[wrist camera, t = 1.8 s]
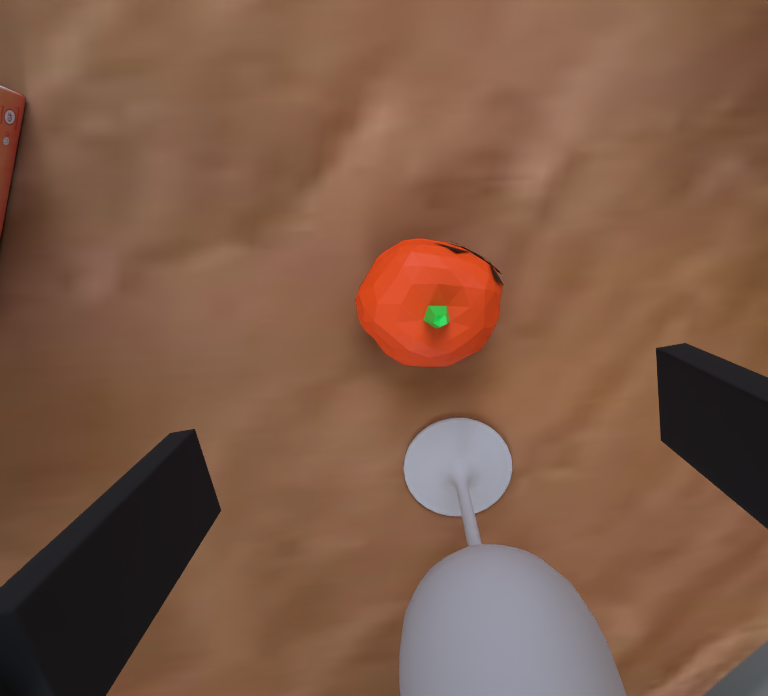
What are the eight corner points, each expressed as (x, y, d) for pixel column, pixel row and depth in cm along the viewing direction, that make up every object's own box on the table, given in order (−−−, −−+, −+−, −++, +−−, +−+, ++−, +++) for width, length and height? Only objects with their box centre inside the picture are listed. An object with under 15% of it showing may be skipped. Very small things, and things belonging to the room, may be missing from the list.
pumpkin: (361, 234, 28) (350, 237, 21) (497, 241, 28) (525, 246, 21) (357, 350, 30) (345, 384, 23) (484, 358, 29) (507, 394, 23)
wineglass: (523, 421, 30) (768, 818, 10) (503, 522, 32) (675, 1025, 12) (407, 408, 30) (419, 775, 10) (395, 510, 32) (382, 989, 12)
